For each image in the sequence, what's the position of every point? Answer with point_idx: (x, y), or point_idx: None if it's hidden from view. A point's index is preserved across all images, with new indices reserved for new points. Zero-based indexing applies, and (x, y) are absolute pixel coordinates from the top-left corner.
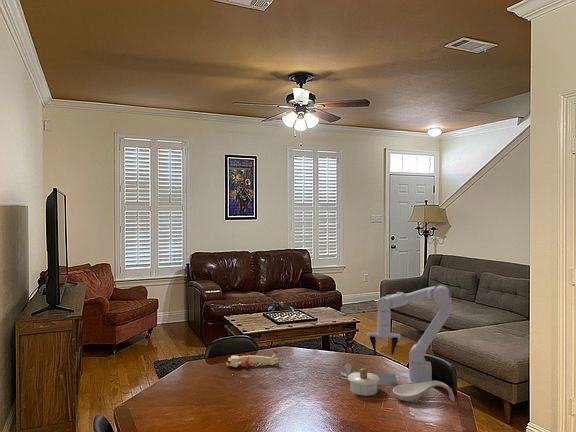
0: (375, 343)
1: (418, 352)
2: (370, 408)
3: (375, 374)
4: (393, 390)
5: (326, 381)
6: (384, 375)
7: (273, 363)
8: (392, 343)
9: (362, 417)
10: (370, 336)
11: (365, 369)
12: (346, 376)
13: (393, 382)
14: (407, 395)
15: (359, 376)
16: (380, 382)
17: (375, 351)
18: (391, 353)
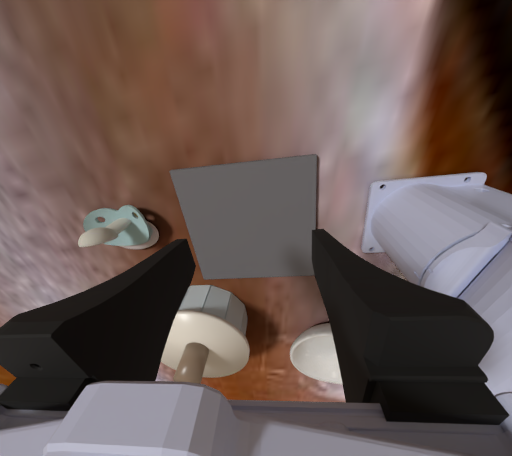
0: (158, 364)
1: None
2: (240, 374)
3: (224, 182)
4: (291, 357)
5: (83, 266)
6: (265, 186)
7: None
8: (341, 373)
9: (230, 395)
10: (28, 422)
11: (193, 382)
12: (124, 245)
13: (299, 255)
14: (325, 381)
15: (182, 343)
16: (252, 261)
17: (187, 286)
18: (313, 258)
